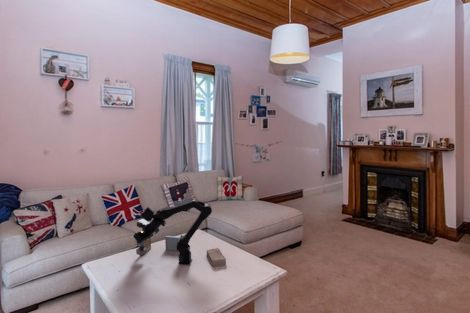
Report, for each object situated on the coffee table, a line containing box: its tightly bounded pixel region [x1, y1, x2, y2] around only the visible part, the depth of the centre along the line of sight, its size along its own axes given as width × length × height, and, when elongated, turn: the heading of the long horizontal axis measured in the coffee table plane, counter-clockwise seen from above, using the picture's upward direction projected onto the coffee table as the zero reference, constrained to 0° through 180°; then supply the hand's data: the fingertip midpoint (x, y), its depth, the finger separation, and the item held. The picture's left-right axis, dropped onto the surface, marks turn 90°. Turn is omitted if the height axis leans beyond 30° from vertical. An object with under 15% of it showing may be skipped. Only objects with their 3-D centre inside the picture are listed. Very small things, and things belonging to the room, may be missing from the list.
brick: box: [206, 247, 227, 268], centre depth 172 cm, size 17×8×5 cm, turn 19°
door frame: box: [164, 235, 180, 252], centre depth 189 cm, size 25×2×9 cm, turn 77°
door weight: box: [135, 231, 148, 256], centre depth 171 cm, size 6×6×13 cm
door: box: [139, 237, 152, 257], centre depth 184 cm, size 1×13×10 cm, turn 167°
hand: (139, 241), depth 171 cm, fingers closed on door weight, 3 cm apart
